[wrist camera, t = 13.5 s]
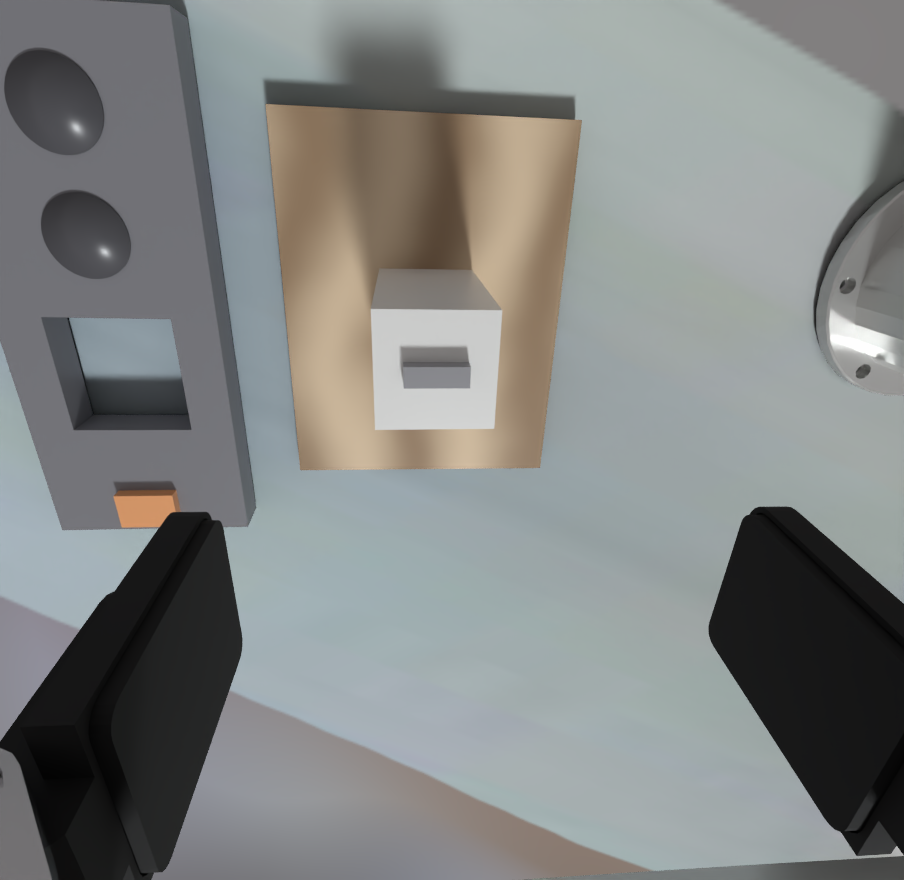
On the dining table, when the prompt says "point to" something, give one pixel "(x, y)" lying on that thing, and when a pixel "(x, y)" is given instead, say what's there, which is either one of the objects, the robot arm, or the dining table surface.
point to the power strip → (114, 258)
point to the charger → (434, 350)
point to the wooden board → (417, 265)
